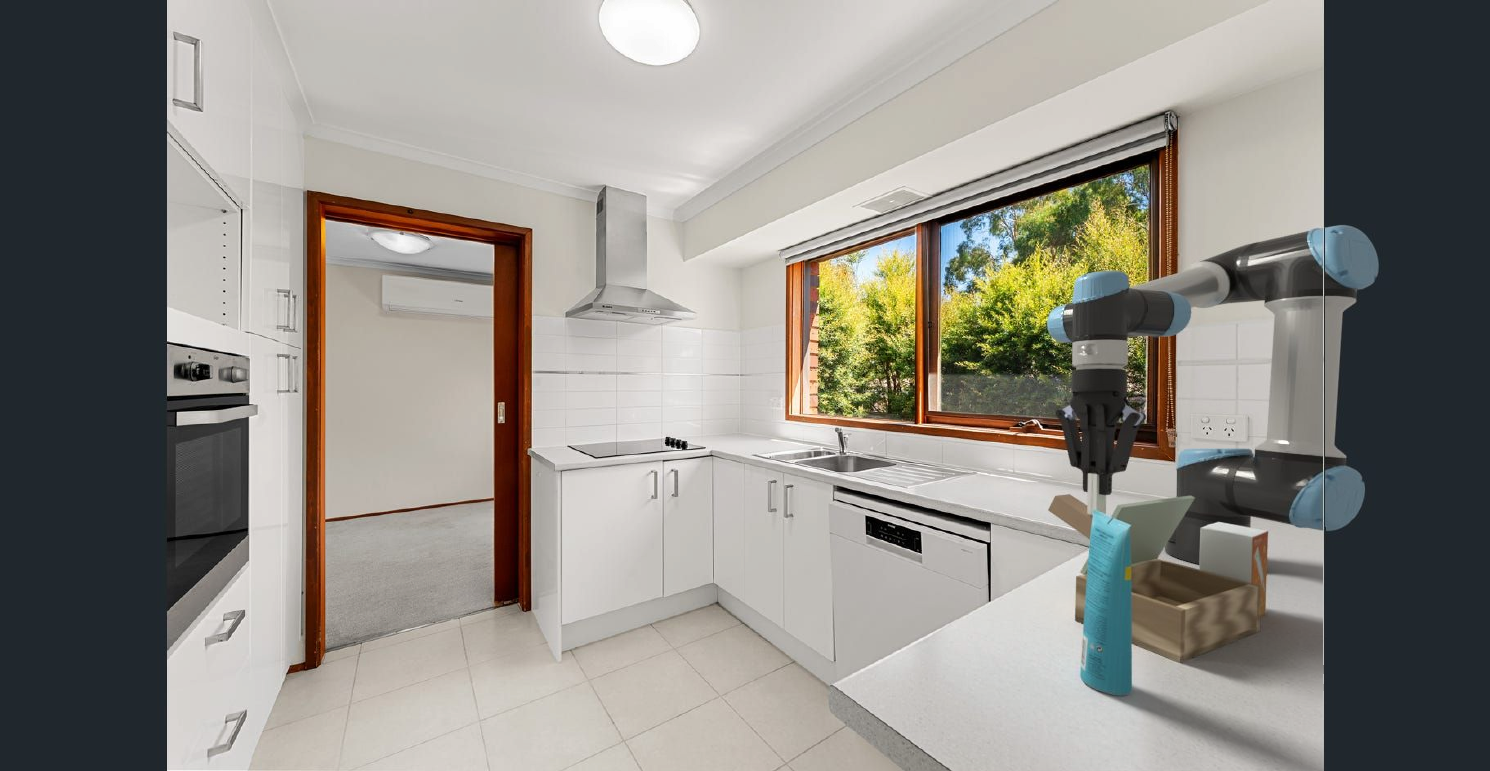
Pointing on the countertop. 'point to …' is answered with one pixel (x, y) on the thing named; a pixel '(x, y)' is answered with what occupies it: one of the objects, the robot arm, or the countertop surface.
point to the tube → (1108, 608)
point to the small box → (1235, 554)
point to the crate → (1185, 609)
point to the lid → (1130, 522)
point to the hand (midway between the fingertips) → (1096, 513)
